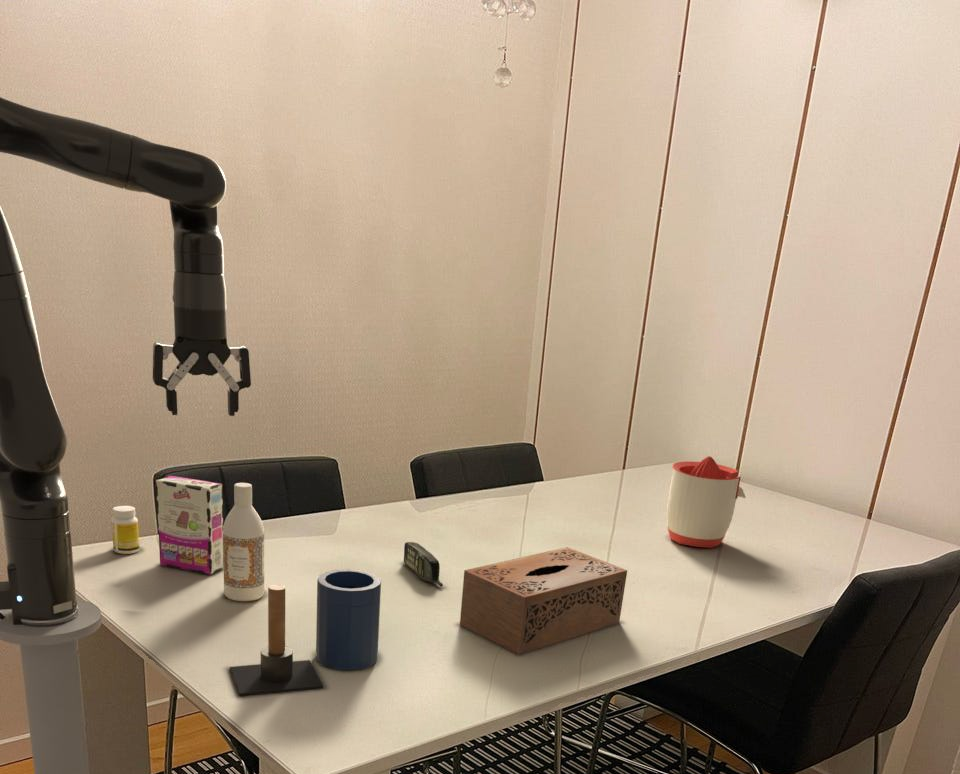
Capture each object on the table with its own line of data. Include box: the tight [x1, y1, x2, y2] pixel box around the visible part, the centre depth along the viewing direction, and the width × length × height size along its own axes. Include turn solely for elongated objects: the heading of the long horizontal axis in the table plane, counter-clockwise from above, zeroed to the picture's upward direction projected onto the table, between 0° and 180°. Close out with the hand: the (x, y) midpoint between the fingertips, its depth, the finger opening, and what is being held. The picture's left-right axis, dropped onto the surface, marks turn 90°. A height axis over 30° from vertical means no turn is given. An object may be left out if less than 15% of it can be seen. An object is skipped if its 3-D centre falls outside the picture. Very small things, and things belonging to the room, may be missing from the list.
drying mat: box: [229, 659, 324, 697], centre depth 142 cm, size 12×9×1 cm
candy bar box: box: [155, 475, 224, 575], centre depth 179 cm, size 11×5×16 cm, turn 73°
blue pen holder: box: [315, 568, 382, 672], centre depth 148 cm, size 9×9×13 cm
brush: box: [260, 583, 294, 683], centre depth 140 cm, size 5×5×14 cm
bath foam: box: [222, 482, 265, 602], centre depth 167 cm, size 7×7×20 cm
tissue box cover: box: [459, 546, 628, 655], centre depth 169 cm, size 26×14×10 cm, turn 133°
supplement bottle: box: [111, 505, 140, 555], centre depth 186 cm, size 5×5×8 cm
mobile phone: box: [403, 541, 444, 588], centre depth 188 cm, size 5×3×15 cm
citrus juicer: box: [666, 456, 747, 549], centre depth 222 cm, size 16×17×20 cm
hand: (203, 414), depth 150 cm, fingers open, 8 cm apart
